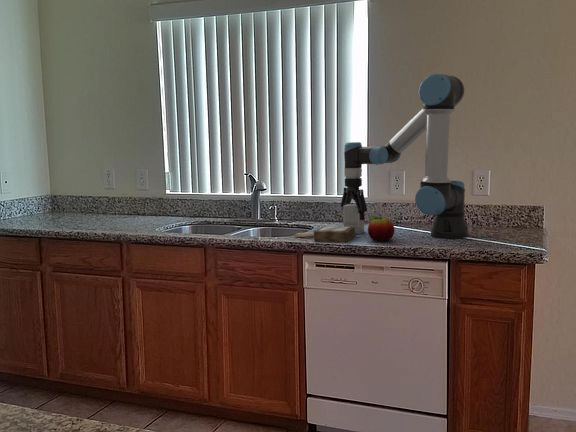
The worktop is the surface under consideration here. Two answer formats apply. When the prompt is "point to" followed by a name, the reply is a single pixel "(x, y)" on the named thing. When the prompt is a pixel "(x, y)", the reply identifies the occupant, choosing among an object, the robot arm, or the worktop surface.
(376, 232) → the fruit
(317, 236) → the stand
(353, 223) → the supplement box
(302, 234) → the cork coaster
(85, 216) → the worktop surface
